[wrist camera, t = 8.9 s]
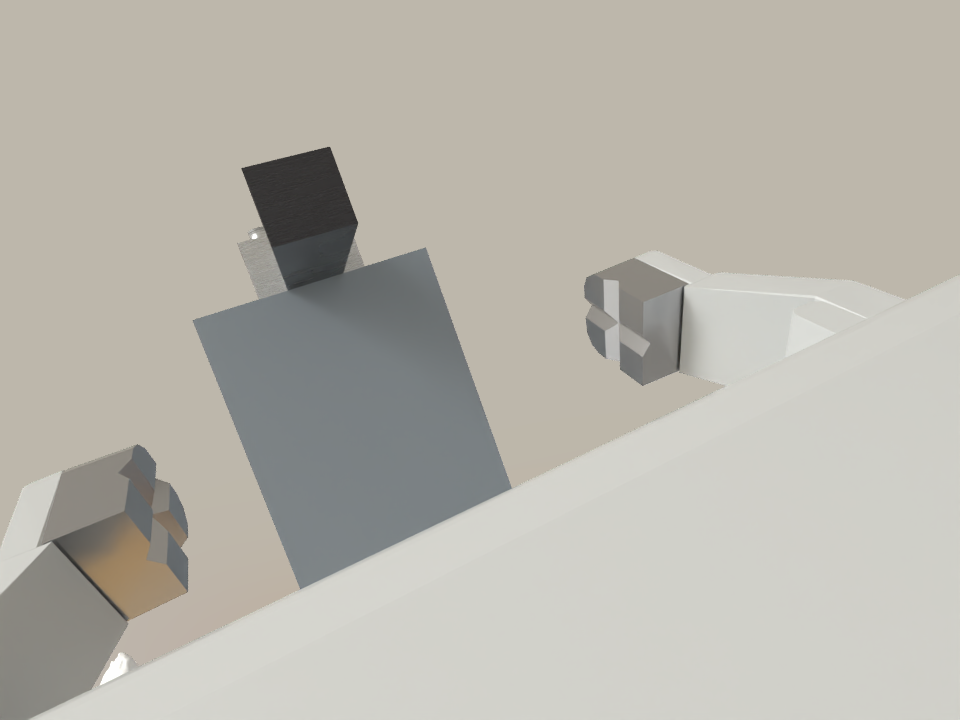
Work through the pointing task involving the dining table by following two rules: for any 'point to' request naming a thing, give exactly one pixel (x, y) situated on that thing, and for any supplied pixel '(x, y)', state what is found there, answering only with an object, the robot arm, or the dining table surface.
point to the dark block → (299, 223)
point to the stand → (354, 411)
